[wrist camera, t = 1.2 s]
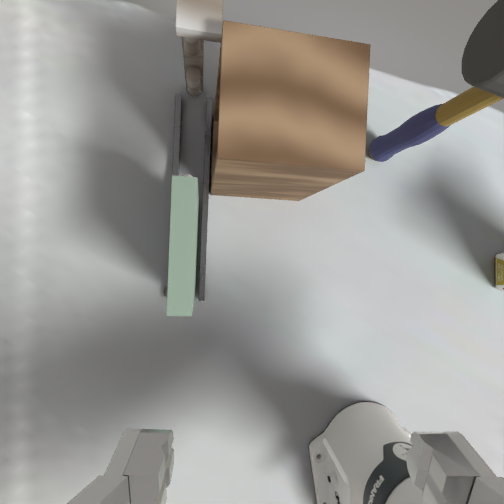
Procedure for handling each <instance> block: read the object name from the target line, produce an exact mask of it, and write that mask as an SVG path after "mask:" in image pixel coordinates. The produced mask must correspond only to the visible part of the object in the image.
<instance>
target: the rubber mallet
mask: <svg viewBox="0 0 504 504" xmlns="http://www.w3.org/2000/svg"><path fill="white" fill-rule="evenodd" d="M462 75H463V77H464V80H465V81H466V82H467V83H469V84H471V85H472V86H474V87H472V88H471V89H469V90H467V91H465V92H463V93H462V94H460V95H458V96H456V97H455V98H453V99H451V100H449V101H448V102H446V103H444V104H440V105H435V106H433V107H430V108H428V109H426V110H424V111H422V112H420V113H418V114H416V115H414V116H413V117H411V118H410V119H408V120H407V121H406V122H404V123H403V124H402V125H401V126H400V127H398V128H397V129H395V130H393V131H391V132H390V133H388V134H386V135H383V136H379V137H377V138H376V139H374V140H373V141H372V143H371V144H370V148H369V155H370V157H371V158H372V159H373V160H375V161H380V162H383V161H386V160H388V159H389V158H391V157H392V156H393V155H394V154H396V153H398V152H400V151H402V150H404V149H406V148H409V147H412V146H415V145H419V144H422V143H424V142H426V141H428V140H429V139H431V138H433V137H435V136H436V135H438V134H440V133H441V132H443V131H444V130H445V129H447V128H448V127H449V126H450V125H451V124H453V123H455V122H457V121H459V120H461V119H463V118H465V117H467V116H469V115H471V114H473V113H475V112H477V111H479V110H481V109H483V108H485V107H487V106H489V105H491V104H493V103H495V102H497V101H499V100H501V99H503V98H504V0H498V1H497V2H496V3H495V4H494V5H493V6H492V7H491V8H490V9H489V10H488V11H487V12H486V14H485V15H484V16H483V18H482V19H481V20H480V22H478V24H477V26H476V27H475V29H474V31H473V32H472V34H471V36H470V38H469V40H468V42H467V45H466V47H465V50H464V54H463V58H462Z"/></svg>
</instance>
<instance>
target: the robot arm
mask: <svg viewBox="0 0 504 504" xmlns="http://www.w3.org/2000/svg"><path fill="white" fill-rule="evenodd" d="M172 443H173V431H172V430H156V429H126V430H125V432H124V433H123V435H122V437H121V439H120V441H119V444H118V446H117V448H116V450H115V452H114V455H113V457H112V459H111V461H110V463H109V466H108V468H107V470H106V472H105V474H104V476H98V477H97V478H96V479H95V480H94V481H93V482H91V483H90V484H89V485H88V486H87V487H86V488H84V489H83V490H82V491H81V492H80V493H79V494H77V495H76V496H75V497H74V498H73V499H72V500H70V501H69V502H68V503H67V504H165V503H166V499H167V497H166V488H167V487H168V486H169V484H170V481H171V477H172V471H173V464H174V450H173V448H172ZM309 452H310V459H311V466H312V472H313V479H314V486H315V493H316V500H317V504H504V478H502V477H497V476H496V475H495V474H494V472H493V471H492V470H491V469H490V468H489V466H488V465H487V464H486V463H485V462H484V460H483V459H482V458H481V457H480V456H479V454H478V453H477V452H476V451H475V450H474V448H473V447H472V446H471V445H470V443H469V442H468V441H467V440H466V439H465V437H464V436H463V435H462V434H460V433H459V432H413V433H412V435H411V434H410V433H409V432H407V431H406V430H404V429H403V428H402V426H401V425H400V423H399V422H398V420H397V419H396V417H395V416H394V415H393V414H392V412H391V411H390V410H388V409H387V408H386V407H384V406H382V405H380V404H377V403H372V402H361V403H356V404H353V405H351V406H349V407H347V408H345V409H344V410H342V411H341V412H340V413H338V414H337V415H336V416H335V417H334V419H333V420H332V421H331V423H330V424H329V426H328V427H327V429H326V430H325V431H324V432H323V433H322V434H321V435H319V436H318V437H316V438H315V439H314V440H313V441H312V442H311V443H310V446H309ZM318 454H320V455H319V456H317V455H318Z"/></svg>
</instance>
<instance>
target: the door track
mask: <svg viewBox="0 0 504 504" xmlns="http://www.w3.org/2000/svg"><path fill="white" fill-rule="evenodd" d="M181 105H182V97H181V95H180V94H176V96H175V122H174V148H173V174H172V175H173V176H179V156H180V130H181ZM211 120H212V98H207V108H206V133H205V158H204V182H203V207H202V232H201V257H200V282H199V301H204V293H205V268H206V244H207V219H208V194H209V169H210V145H211Z"/></svg>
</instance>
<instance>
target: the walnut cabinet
mask: <svg viewBox="0 0 504 504" xmlns="http://www.w3.org/2000/svg"><path fill="white" fill-rule="evenodd" d="M222 19H223V0H177V9H176V33H177V36H180V37H182V46H183V57H184V68H185V78H186V89H187V90H188V93H189V94H190V95H191V96H198V95H199V94H200V91H201V92H203V45H204V40H207V41H213V42H220V43H221V48H220V59H219V69H218V79H217V89H216V99H215V109H214V124H213V149H212V174H211V195H222V196H236V197H250V198H265V199H279V200H293V201H300V200H302V199H304V198H306V197H308V196H310V195H313V194H315V193H317V192H319V191H321V190H324V189H326V188H328V187H330V186H332V185H334V184H337V183H339V182H341V181H343V180H345V179H348V178H350V177H352V176H354V175H356V174H358V173H361V172H363V171H364V169H365V148H366V126H367V105H368V84H369V62H370V44H364V43H358V42H352V41H346V40H340V39H334V38H328V37H321V36H316V35H309V34H303V33H297V32H291V31H285V30H279V29H273V28H266V27H261V26H254V25H248V24H242V23H236V22H230V21H223V28H222Z"/></svg>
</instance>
